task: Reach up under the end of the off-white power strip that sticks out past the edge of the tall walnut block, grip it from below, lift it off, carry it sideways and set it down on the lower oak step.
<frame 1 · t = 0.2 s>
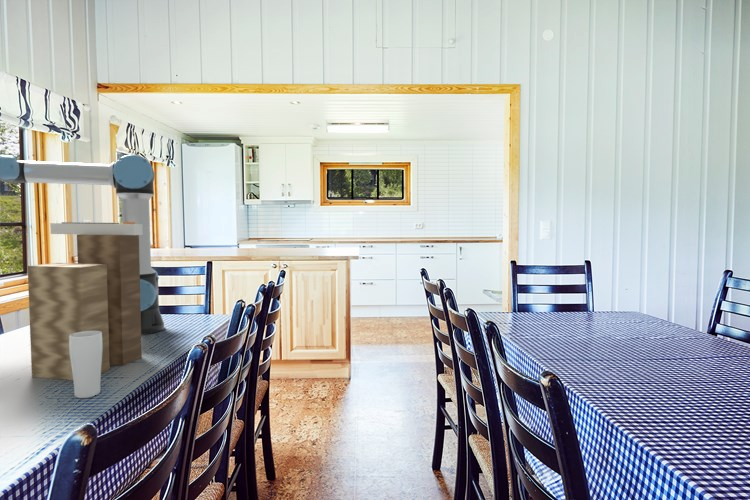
drinking glass: (87, 395, 109), on the table
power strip: (96, 234, 134), point 38 cm above the table, touching stepped stand
stepped stand: (111, 360, 136), on the table
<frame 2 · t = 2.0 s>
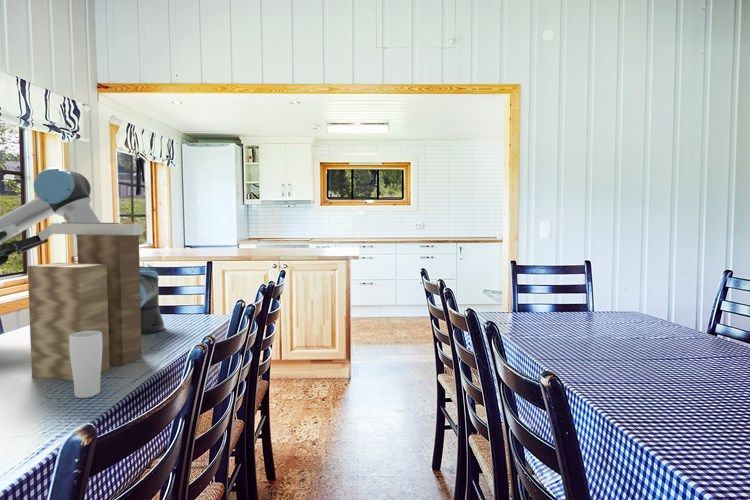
hand: (36, 227, 142), 40 cm above the table, tool pointing upward, fingers open, 13 cm apart
nothing on the table moved.
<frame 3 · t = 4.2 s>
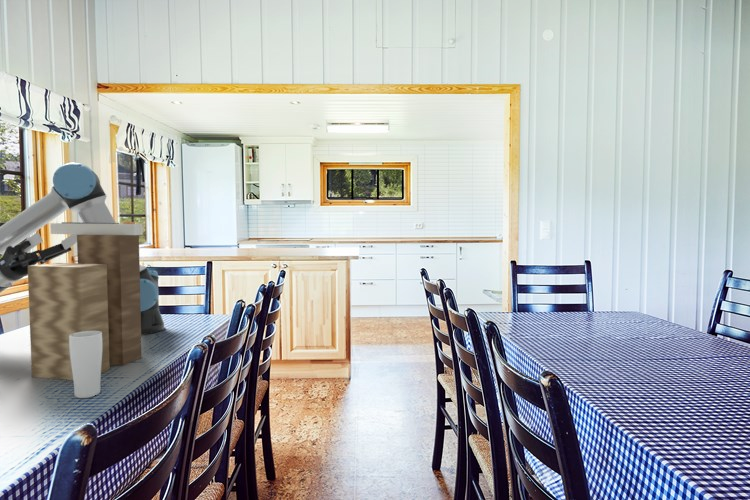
hand: (60, 236, 136), 37 cm above the table, tool pointing upward, fingers open, 13 cm apart
nothing on the table moved.
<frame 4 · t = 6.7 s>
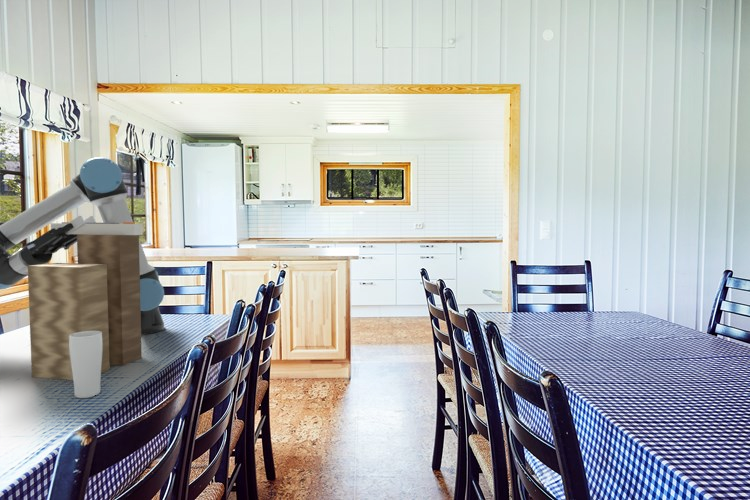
hand: (88, 219, 135), 42 cm above the table, tool pointing upward, fingers closed on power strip, 4 cm apart
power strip: (96, 234, 134), point 38 cm above the table, touching gripper, stepped stand
everything else where it was.
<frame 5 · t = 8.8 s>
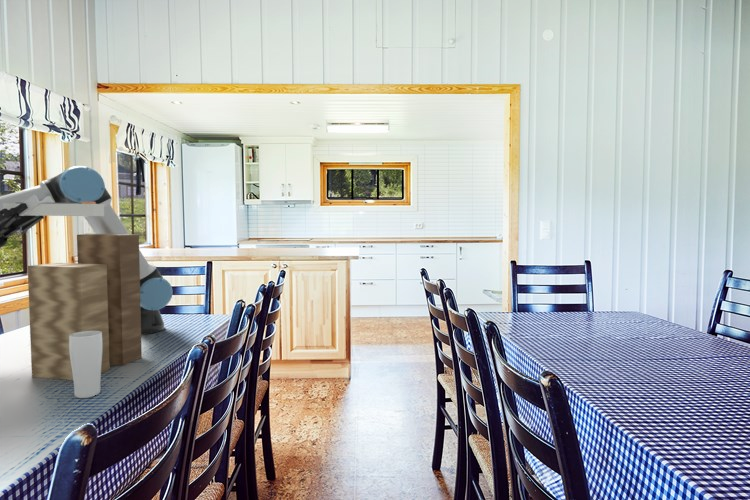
hand: (44, 199, 122), 48 cm above the table, tool pointing upward, fingers closed on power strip, 4 cm apart
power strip: (53, 215, 122), point 43 cm above the table, touching gripper
everything else where it was.
when the fingers open (37 cm above the table, at t = 11.0 s): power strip drops 2 cm, resting on stepped stand.
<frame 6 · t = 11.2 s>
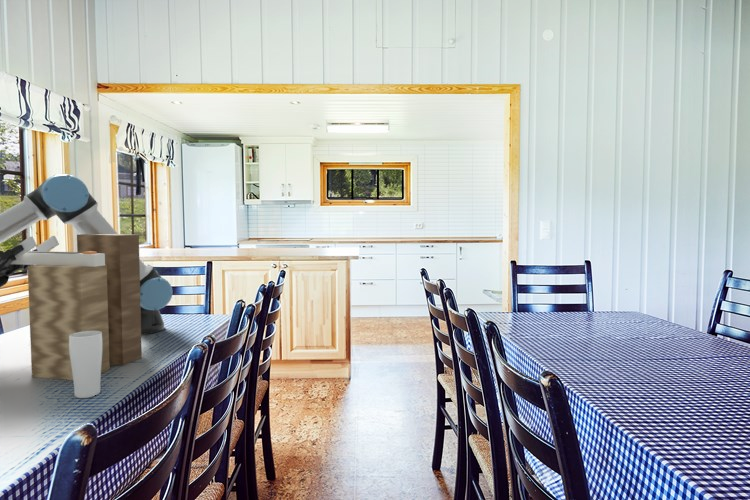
hand: (44, 240, 123), 37 cm above the table, tool pointing upward, fingers open, 6 cm apart
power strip: (54, 264, 123), point 30 cm above the table, touching stepped stand
everything else where it was.
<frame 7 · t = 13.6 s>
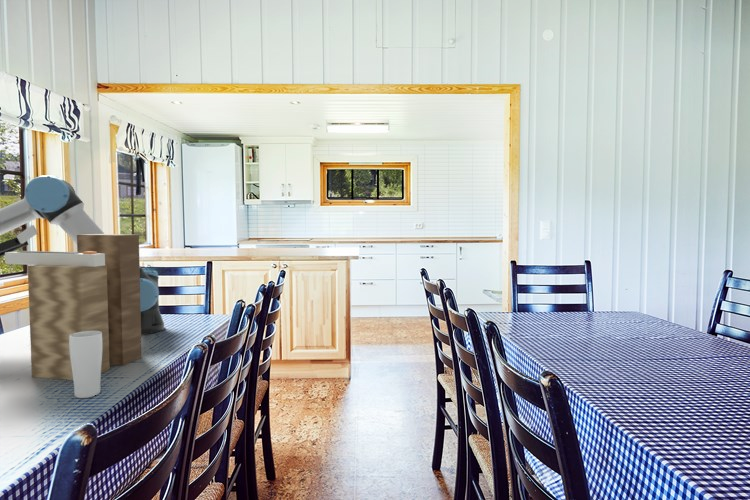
hand: (14, 229, 131), 39 cm above the table, tool pointing upward, fingers open, 13 cm apart
nothing on the table moved.
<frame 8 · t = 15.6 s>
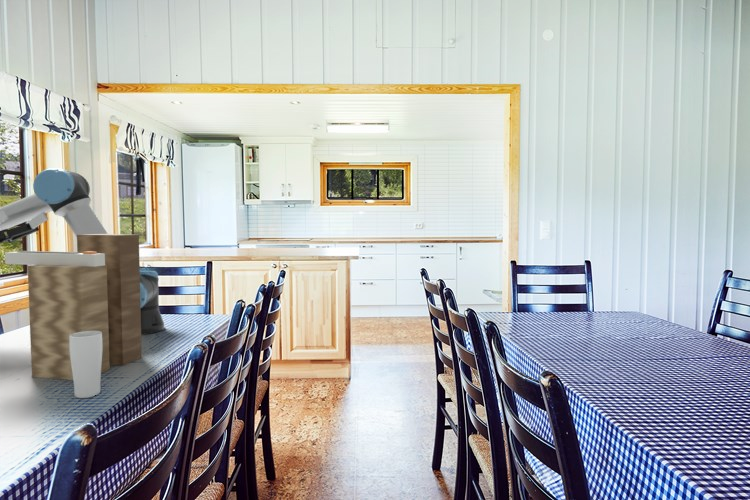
hand: (26, 215, 141), 44 cm above the table, tool pointing upward, fingers open, 13 cm apart
nothing on the table moved.
at the end: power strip inside the target area (0.3 cm from its centre), point 30.0 cm above the table; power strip tilted 0°; the gripper is holding nothing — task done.
